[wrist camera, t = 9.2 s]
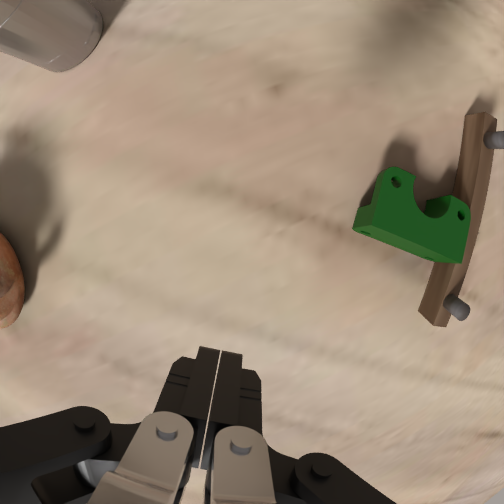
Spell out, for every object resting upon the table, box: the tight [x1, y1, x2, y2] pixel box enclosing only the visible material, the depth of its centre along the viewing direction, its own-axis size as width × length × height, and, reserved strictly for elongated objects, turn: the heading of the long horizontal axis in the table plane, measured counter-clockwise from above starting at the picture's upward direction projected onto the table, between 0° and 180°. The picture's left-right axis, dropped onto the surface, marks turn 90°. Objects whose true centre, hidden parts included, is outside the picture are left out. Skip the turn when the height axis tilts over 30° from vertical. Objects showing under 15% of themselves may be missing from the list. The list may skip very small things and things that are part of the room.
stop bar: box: [418, 112, 504, 327], centre depth 27 cm, size 2×24×7 cm, turn 168°
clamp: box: [352, 167, 471, 264], centre depth 28 cm, size 12×6×9 cm, turn 66°
